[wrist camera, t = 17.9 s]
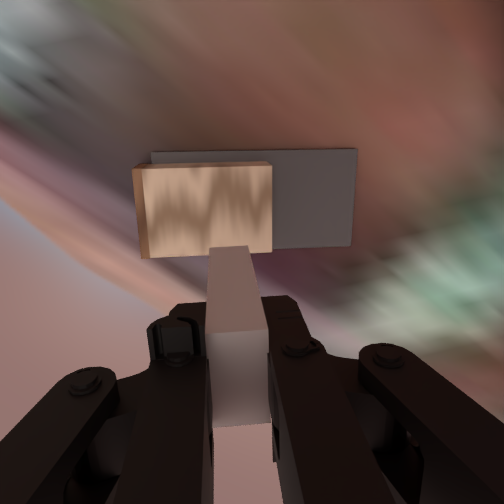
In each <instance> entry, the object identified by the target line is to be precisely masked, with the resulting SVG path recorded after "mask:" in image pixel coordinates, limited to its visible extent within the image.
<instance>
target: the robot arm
mask: <svg viewBox="0 0 504 504" xmlns="http://www.w3.org/2000/svg"><path fill="white" fill-rule="evenodd" d="M147 337H148V345H149V352H150V360H151V361H150V365H149V368H148V369H147V370H145V371H143V372H141V373H139V374H136V375H133V376H130V377H126V378H123V379H119V380H117V379H116V375H115V373H114V372H113V371H112V370H110V369H108V368H104V367H87V368H84V369H83V368H82V369H79V370H77V371H75V372H73V373H70V374H68V375H66V376H65V377H64V378H62V379H61V380H60V381H58V382H57V383H56V384H55V385H54V386H53V387H52V389H50V391H49V392H48V393H47V394H46V395H45V396H44V397H43V398H42V399H41V400H40V401H39V402H38V403H37V404H36V405H35V406H34V407H33V408H32V409H31V410H30V411H29V412H28V413H27V414H26V415H25V416H24V417H23V419H22V420H21V421H20V422H19V423H18V424H17V425H16V426H15V427H14V428H13V429H12V430H11V431H10V432H9V433H8V434H7V435H6V436H5V437H4V438H3V439H2V440H1V441H0V504H213V499H214V497H213V496H214V495H213V491H214V489H213V488H214V442H213V428H217V427H228V426H239V425H251V424H262V423H271V419H270V417H271V418H272V444H273V445H272V446H273V462H276V463H277V468H278V474H279V480H280V486H281V492H282V498H283V503H284V504H504V423H502V422H501V421H500V420H498V419H497V418H496V417H495V416H493V415H492V414H491V413H489V412H488V411H487V410H485V409H484V408H483V407H482V406H480V405H479V404H478V403H476V402H475V401H474V400H473V399H471V398H470V397H469V396H467V395H466V394H465V393H464V392H462V391H461V390H460V389H458V388H457V387H456V386H455V385H453V384H452V383H451V382H449V381H448V380H447V379H445V378H444V377H443V376H442V375H440V374H439V373H438V372H436V371H435V370H434V369H433V368H431V367H430V366H429V365H427V364H426V363H425V362H424V361H422V360H421V359H420V358H418V357H417V356H416V355H415V354H413V353H412V352H410V351H408V350H407V349H405V348H403V347H400V346H396V345H394V344H389V343H387V344H386V343H378V344H370V345H368V346H365V347H363V348H362V349H361V351H360V352H359V360H358V359H349V358H342V357H336V356H333V355H330V354H327V352H326V350H325V348H324V346H323V345H322V344H321V342H320V341H318V340H316V339H314V338H312V337H311V335H310V333H309V330H308V328H307V326H306V323H305V321H304V319H303V316H302V314H301V312H300V309H299V307H298V305H297V302H296V301H295V300H293V299H292V298H290V297H289V296H287V295H283V296H268V297H260V293H259V289H258V285H257V281H256V276H255V272H254V268H253V264H252V260H251V256H250V252H249V247H248V245H245V246H228V247H211V248H209V265H208V284H207V302H197V303H182V304H177V305H176V306H175V307H174V308H173V309H172V310H171V311H170V313H169V316H166V317H163V318H160V319H157V320H156V321H154V322H153V323H151V324H150V326H149V327H148V328H147ZM270 413H271V416H270ZM212 427H213V428H212Z"/></svg>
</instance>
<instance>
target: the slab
mask: <svg viewBox="0 0 504 504" xmlns="http://www.w3.org/2000/svg"><path fill="white" fill-rule="evenodd" d="M132 177H133V186H134V195H135V205H136V214H137V223H138V233H139V242H140V252H141V259H149V258H156V257H178V256H200V255H209V248H211V247H228V246H245V245H248V247H249V252H250V253H266V252H272V165H271V164H269V163H268V162H267V161H252V162H212V163H172V164H138V165H137V166H135V167H134V168H132Z"/></svg>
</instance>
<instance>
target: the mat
mask: <svg viewBox="0 0 504 504" xmlns="http://www.w3.org/2000/svg"><path fill="white" fill-rule="evenodd" d="M357 153H358V149H301V150H239V151H177V152H151V162H152V164H172V163H212V162H252V161H267V162H268V163H269V164H271V165H272V249H288V248H314V247H339V246H351V237H352V223H353V209H354V195H355V181H356V167H357Z"/></svg>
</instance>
